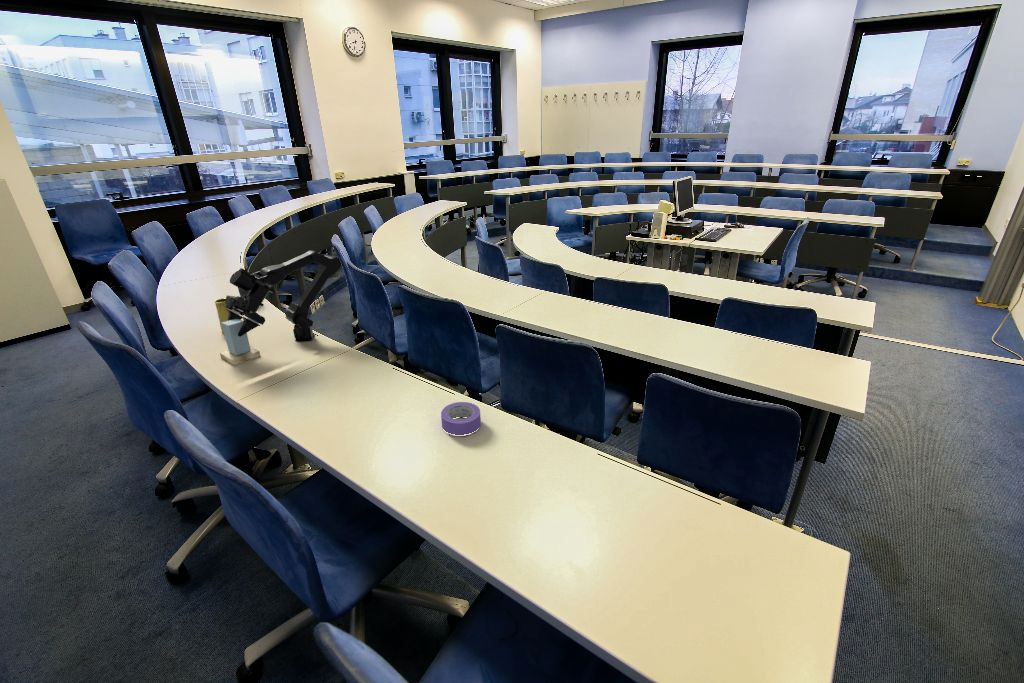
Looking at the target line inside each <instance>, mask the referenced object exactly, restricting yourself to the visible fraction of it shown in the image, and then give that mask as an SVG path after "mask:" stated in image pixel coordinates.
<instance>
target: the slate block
mask: <svg viewBox="0 0 1024 683" xmlns="http://www.w3.org/2000/svg"><path fill="white" fill-rule="evenodd" d="M243 323H244V321H243V319H241V320H239V319H233V320H229V321H226V322H222V327H223V331H224V333H223V335H224V337H225V342H226V346H227V349H228V350H229V352H230V353H232V354H234V355H236V356H237V355H240V354H243V353H246V352H249V351H251V349H250V346H251V344H250V341H249V336H248V332H247V333H246V334H244V335H242V336H241V337H240V336H238V333H239V331H240V329H241V327H242V325H243Z"/></svg>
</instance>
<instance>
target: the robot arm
mask: <svg viewBox="0 0 1024 683" xmlns="http://www.w3.org/2000/svg"><path fill="white" fill-rule="evenodd" d="M312 263H318V267H317V273H316V274H315V276H314V277H313V279H312V280H311V282H310V283H309V285H308V286H307V288H306V289H305V291H304V292H303V294H302V295H301V297H300V298H299V300H297V301H296V302H292V301H291V302H290V303H289V305H288V307H287V308H285V310H286V311H285V319H287V320H288V321H289V322H290V323H292V325H293V330H292V331H293V336H294V339H295V340H294V342H311V341H313V339H314V337H315V334H316V333H314V332H313V324H314V321H313V319H310V318H309V315H310V314H309V313H310V307H311V305H312V304H313V303H314V301H315V300H316V298H317V297H318V295H319V294H320V292H321V290H322V289H323V287H324V286H325V284H326V283H327V281H328V280H329V279H330V278H331V277H333V276H335V275H336V274H337V273H338V272H339V271H340V269H341V268H342V262H341V260H340V259H339V257H335V256H333V255H329V254H327V255H323V254H320V253H319V252H316V251H315V250H307V251H306V252H305V253H303V254H301V255H298V256H295V257H294V258H292V259H289V260H287V261H285V262H282V263H280V264H272V265H268V266H265V267H262V268H261V269H260V271H256V272H253V273H250V272H248V271H247V270H245V268H242V267H241V268H240V267H239V268H240V269H239V270H237V271H235V272H234V273H232V275H231V276H230V278H229V283H230V284H231V285H233V286H235V287H237V289H238V288H240V289H242V290H244V291H247V290H250V291H249V293H248V294H247V295H243V296H242V297H240V295H237V296H235V295H234V296H233V295H229V294H227V295H226V297H225V298H226V301H225V304H227V305H226V308H228V309H226V310H227V312H228V315H229V316H228V321H229V320H233V319H239V320H242V321H244V323H243V325H242V327H241V329H240V331H239V333H238V336H240V337H241V336H242V335H244V334H246V333H247V334H248V333H249V332H251V331H253V330H255V328H257V327H260V326H264V324H265V322H266V318H265V317H264V316H262V315H260V314H259V313H258V310H259V309H260V307H262V308H263V307H264V303H263V302H264V301H265V299H266V297H267V296H268V294H269V292H270V293H272V294H276V291H275V287H274V286H275V285H277V284H279V283H280V282H282V281H283V280H284V279H285V278H286V277H287V276H288V275H289V274H291V273H294V272H296V271H298V270H300V269H302V268H304V267H307V266H309V265H310V264H312ZM259 282H260V283H259ZM268 284H269V285H268Z"/></svg>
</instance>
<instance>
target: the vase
mask: <svg viewBox="0 0 1024 683" xmlns="http://www.w3.org/2000/svg"><path fill="white" fill-rule="evenodd" d="M225 301H226V297H225V298H224V297H223V298H217V299H215V300H214V304H215V307H216V311H217V318H218V320H219V326H220V330H221V334H224V331H223V327H222V322H226V321H228V316H229V315H228V312H227V310H226V309H228V308H226V305H227V304H225Z"/></svg>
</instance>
